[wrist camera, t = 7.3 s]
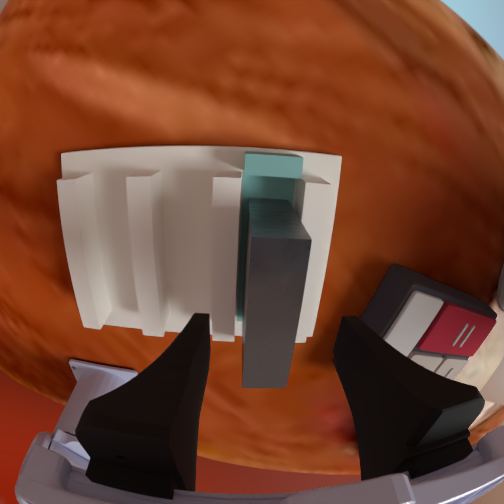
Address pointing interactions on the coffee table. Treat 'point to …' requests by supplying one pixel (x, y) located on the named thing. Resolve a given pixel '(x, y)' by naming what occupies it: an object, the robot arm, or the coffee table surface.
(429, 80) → the coffee table surface
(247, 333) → the panel
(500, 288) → the mate gourd
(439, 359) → the calculator
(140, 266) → the rack
